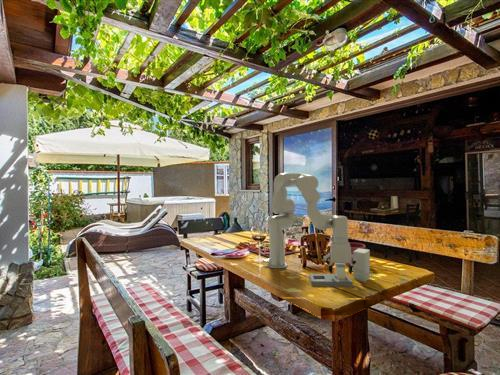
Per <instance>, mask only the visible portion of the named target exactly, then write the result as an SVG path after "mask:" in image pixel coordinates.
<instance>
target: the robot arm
mask: <svg viewBox="0 0 500 375" xmlns="http://www.w3.org/2000/svg"><path fill="white" fill-rule="evenodd" d="M288 187H289V188H290V187H291V188H295V187H296V188H297V189H298V191H299V193H300V195H301V196H302V198H303V199H304V201H305V202H306V213H307V216H308V218H309V220H310V223H312V225H313V227H314V228H316V229H317V230H320V231H322V230H323V231H325V230H328V229H332V236H331V237H329V241H331V243H330V250H329V253H327V254H326V255H323V260H324V262H325V263H326V264H327V265H328V272H329V274H333V264H336V263H343V264H346V263H349V266H348V273H349V274H350V275H353V274H352V272H353V265H354V264H355V263H356V261H357V259H358V257H357V256H355V255H353V254H351V248H350V243H351V242H349V237H348V236H349V235H348V234H349V226H348V225H349V224H348V220H349V219H348V217H347V216H345V215H336V214H333V213H332V214H330V213H328V214H321V212H320V210H319V209H318V202H319V201H320V200H321V194H320V192H319V191H318V189H317V188H318V187H319V180H318V178H317V177H316V176H314V175H311V174H306V173H300V172H283V173H282V172H281V173H279V174H277V175H276V176H275V177H274V180H273V193H272V201H271V211H272V213H273V214H275V215H272V216H270V217H269V218H268V220H267V222H266V223H267V229H268V236H269V239H268V240H269V258H266V259H265V258H263V259H262V263H265V264H267V265H266V266H267V267H268V268H271V269H284V268H287V267H288V263H287V262H286V252H285V251H286V250H285V249H286V248H285V246H286V245H285V244H286V243H285V242H286V240H285V239H286V238H285V234H284V232H283V231H284V230H289V229H290V228H291V227H292V226H293V224H294V218H295V210H296V206H295V205H296V204H295V201H294V200H293V199H292V198H290V197H288V190H287V188H288ZM276 214H277V215H276ZM351 257H353V258H354V260H353V261H352V262H351ZM328 258H329V260H328Z"/></svg>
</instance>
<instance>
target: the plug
mask: <svg viewBox="0 0 500 375" xmlns="http://www.w3.org/2000/svg"><path fill="white" fill-rule="evenodd" d="M335 274H336V279H342V280H345V274H346V264H345V263H335Z"/></svg>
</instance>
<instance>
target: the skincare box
mask: <svg viewBox="0 0 500 375" xmlns="http://www.w3.org/2000/svg"><path fill="white" fill-rule="evenodd" d="M353 255H355V256H357V257H358V259H357V261H356V263H355V264H354V265H353V274H352V275H353V279H354V280H356V281H357V282H361V283H362V282H363V283H366V282H367V281H369V279H370V278H371V276H370V273H371V272H370V270H371V269H370V268H371V267H370V266H371V264H370V262H371V261H370V258H371V257H370V256H371V253H370V249H368V248H365V249H360V248H358V249H357V250H355V251H353ZM353 260H354V258H353Z"/></svg>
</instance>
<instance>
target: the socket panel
mask: <svg viewBox="0 0 500 375" xmlns="http://www.w3.org/2000/svg"><path fill="white" fill-rule="evenodd" d="M308 279H309V282H310V285H311V287H312V286H313V287H353V286H354V283H353V282H354V281H353V280H352V279H351V277H350V276H349V275H348V273H345V280H342V279H336V273H332V274H331V273H308Z"/></svg>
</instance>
